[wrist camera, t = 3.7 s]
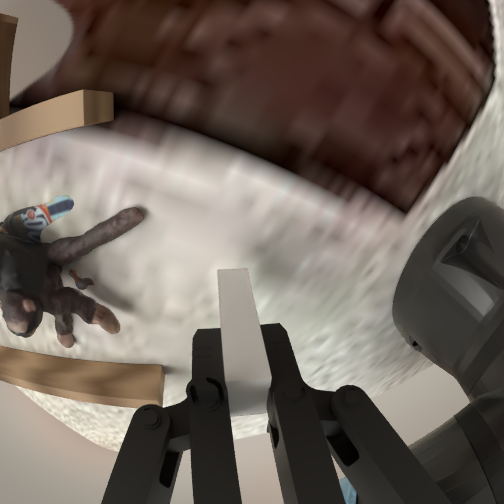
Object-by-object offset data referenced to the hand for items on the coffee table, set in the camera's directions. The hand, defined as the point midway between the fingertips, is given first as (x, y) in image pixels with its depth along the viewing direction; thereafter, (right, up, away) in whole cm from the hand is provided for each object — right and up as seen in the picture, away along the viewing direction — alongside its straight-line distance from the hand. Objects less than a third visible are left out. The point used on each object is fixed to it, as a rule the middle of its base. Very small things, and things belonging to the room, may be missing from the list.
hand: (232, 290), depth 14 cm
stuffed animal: (-12, +1, +1) cm, 12 cm away
